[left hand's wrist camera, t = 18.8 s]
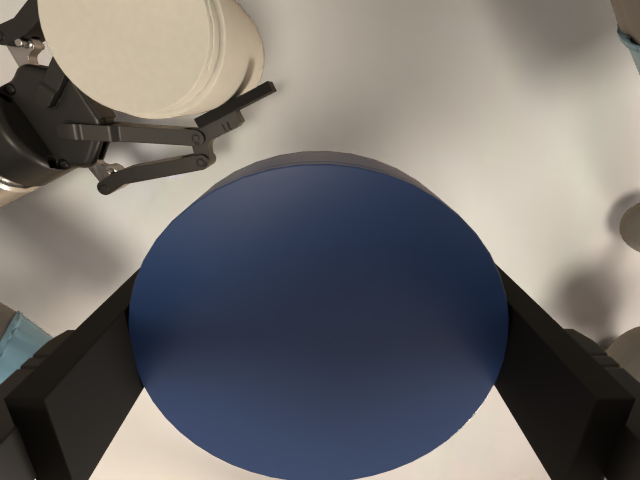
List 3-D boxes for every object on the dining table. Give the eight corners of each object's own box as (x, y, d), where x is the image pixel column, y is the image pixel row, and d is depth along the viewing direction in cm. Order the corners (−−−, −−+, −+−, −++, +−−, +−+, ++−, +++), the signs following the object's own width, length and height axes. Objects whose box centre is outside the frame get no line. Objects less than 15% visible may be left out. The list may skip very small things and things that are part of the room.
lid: (140, 142, 10) (96, 153, 8) (511, 159, 10) (557, 174, 8) (176, 423, 14) (152, 477, 12) (447, 432, 14) (469, 487, 12)
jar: (283, 42, 34) (251, -1, 18) (231, 129, 37) (165, 155, 21) (192, -30, 32) (71, -144, 16) (144, 68, 35) (3, 48, 19)
